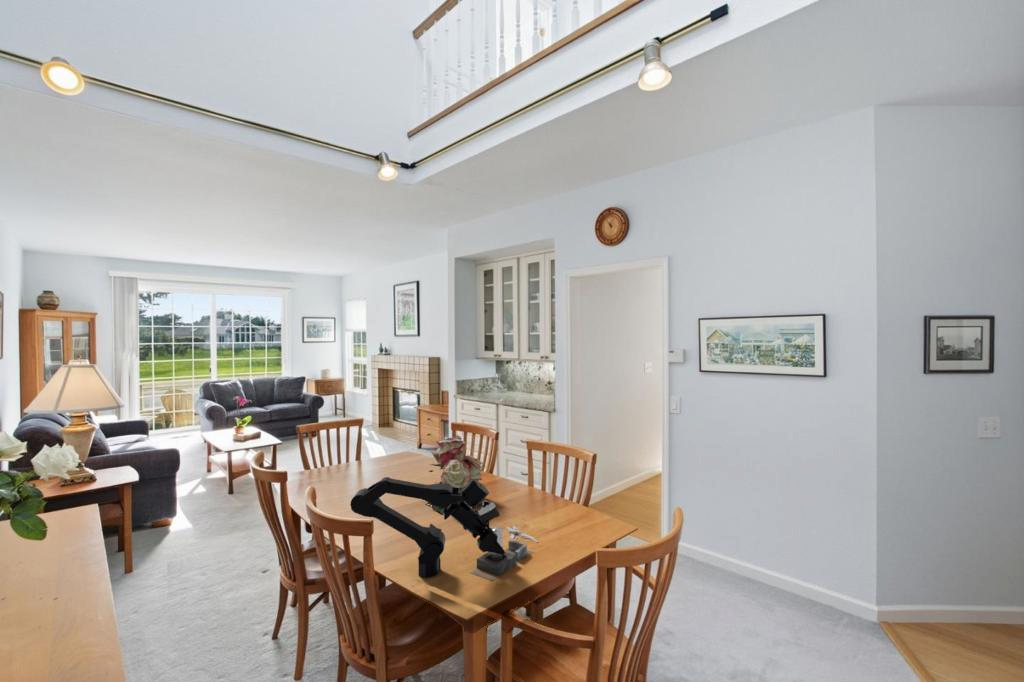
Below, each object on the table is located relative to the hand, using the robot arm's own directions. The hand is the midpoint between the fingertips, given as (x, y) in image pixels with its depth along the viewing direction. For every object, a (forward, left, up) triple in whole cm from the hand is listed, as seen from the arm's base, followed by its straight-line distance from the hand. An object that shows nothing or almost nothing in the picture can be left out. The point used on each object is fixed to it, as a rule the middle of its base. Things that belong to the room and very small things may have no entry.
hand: (500, 546), depth 151 cm
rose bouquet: (+39, +54, -8) cm, 67 cm away
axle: (-1, +1, -6) cm, 6 cm away
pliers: (+24, +10, -8) cm, 27 cm away
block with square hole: (+2, +1, -8) cm, 8 cm away
